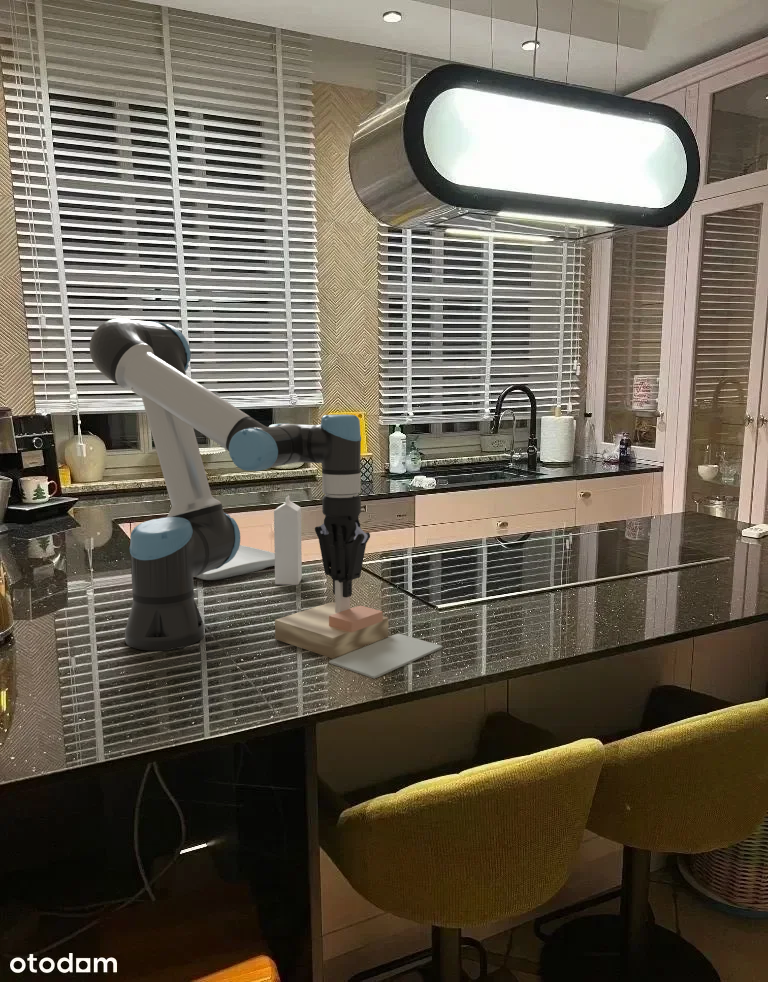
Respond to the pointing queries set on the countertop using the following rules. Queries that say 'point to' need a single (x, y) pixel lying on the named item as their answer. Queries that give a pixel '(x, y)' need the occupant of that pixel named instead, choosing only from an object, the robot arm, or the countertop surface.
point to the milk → (288, 543)
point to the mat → (385, 655)
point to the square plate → (242, 563)
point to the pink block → (355, 618)
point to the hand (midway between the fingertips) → (342, 611)
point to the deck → (325, 632)
